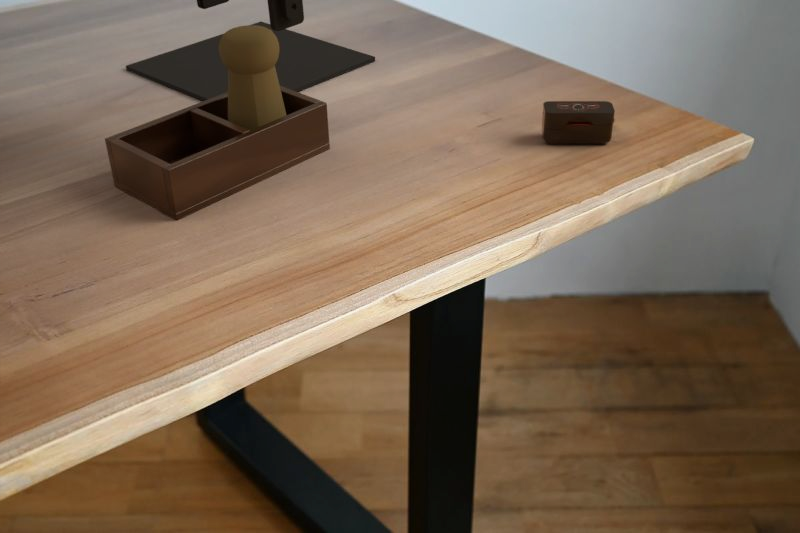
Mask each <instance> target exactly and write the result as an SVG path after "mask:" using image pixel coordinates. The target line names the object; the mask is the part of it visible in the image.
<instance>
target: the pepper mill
mask: <svg viewBox="0 0 800 533" xmlns="http://www.w3.org/2000/svg"><path fill="white" fill-rule="evenodd" d="M222 34H223V36H222V38H221V40H220V43H219V53H220V57H221V59H222V62H223V64H224V65H225V66H226V67H227V68H228V121H229V122H232V123H234V124H236V125H239V126H241V127H244V128H246V129H248V130H250V131H251V130H253V129H255V128H258V127H260V126H262V125H265V124H267V123H270V122H272V121H274V120H277V119H279V118H282V117H284V116H286V111H285V106H284V102H283V98H282V94H281V90H280V85H279V81H278V77H277V73H276V69H275V64H276V62H277V60H278V57H279V42H278V40H277V37H276V36H275V34H274V33H273V32H272V30H270V29H268V28H266V27H262V26H255V25H252V24H248V25H240V26H236V27H233V28H230V29H228V30H227V31H225V32H224V33H222Z"/></svg>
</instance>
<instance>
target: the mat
mask: <svg viewBox="0 0 800 533" xmlns="http://www.w3.org/2000/svg"><path fill="white" fill-rule="evenodd" d="M251 25H255V26H262V27H266V28H268V29H270V30H272V28H271V26H270V23H267V22H264V21H258V22H254V23H252V24H251ZM272 32H273V33H274V34H275V36H276V37H277V40H278V42H279V57H278V60H277V62H276V64H275V69H276V73H277V77H278V81H279V85H280V86H282V87H285V88H287V89H290V90H293V91H296V92H298V93H300V92H301V91H303V90H306V89H309V88H311V87H313V86H317V85H319V84H321V83H324V82H326V81H329V80H331V79H333V78H337V77H339V76H341V75H343V74H346V73H348V72H351V71H353V70H355V69H358V68H361V67H363V66H366V65H368V64H370V63H373V62H376V56H374V55H371V54H367V53H365V52H362V51H357V50H355V49H351V48H348V47H345V46H342V45H339V44H335V43H332V42H329V41H325V40H322V39H319V38H316V37H313V36H309V35H306V34H303V33H300V32H296V31H293V30H290V29H288V28H287V29H284V30H281V31H275V30H272ZM223 34H224V33H221V34H218V35H214V36H213V37H210V38H209V37H208V38H205V39H202V40H200V41H198V42H194V43H190V44H188V45H186V46H181V47H178V48H175V49H174V50H170V51H166V52H164V53H160V54H158V55H154V56H151V57H148V58H145V59H142V60H139V61H136V62H132V63H130V64H126V65H125V69H126V71H129V72H131V73H134V74H136V75H138V76H141V77H143V78H145V79H147V80H151V81H153V82H156V83H158V84H160V85H163V86H165V87H168V88H170V89H172V90H174V91H178V92H180V93H182V94H184V95H187V96H190V97H192V98H195V99H197V100H199V101H201V102H203V101H205V100H208V99H211V98H213V97H216V96H219V95H221V94H224V93H227V92H228V68H227V67H226V66H225V65H224V64H223V62H222V59H221V57H220V53H219V43H220V40H221V38H222V36H223Z"/></svg>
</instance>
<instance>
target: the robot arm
mask: <svg viewBox="0 0 800 533" xmlns="http://www.w3.org/2000/svg"><path fill="white" fill-rule="evenodd" d="M229 1H230V0H196V5H197V7H198V8H199V9H202V10H206V9H209V8H213V7H216V6H219V5H223V4H226V3H228V2H229ZM267 8H268V16H269V24H270V26H271V28H272V30H275V31H281V30H284V29H287V30H288V29H289V28H292V27H295V26H297V25H300V24H302V23H303V22H304V20H305V14H304V13H305V12H304V3H303V0H267Z"/></svg>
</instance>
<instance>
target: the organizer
mask: <svg viewBox="0 0 800 533" xmlns="http://www.w3.org/2000/svg"><path fill="white" fill-rule="evenodd" d="M280 90H281V94H282V98H283V102H284V106H285V111H286V116H284V117H282V118H279V119H277V120H274V121H272V122H270V123H267V124H265V125H262V126H260V127H258V128H255V129H253V130H251V131H250V130H248V129H246V128H244V127H241V126H239V125H236V124H234V123H232V122H229V121H228V92H227V93H224V94H221V95H219V96H216V97H213V98H211V99H208V100H205V101H201V102H198V103H195V104H192V105H190V106H187V107H184V108H182V109H179V110H176V111H174V112H171V113H169V114H166V115H163V116H160V117H158V118H155V119H153V120H150V121H148V122H145V123H142V124H139V125H137V126H134V127H132V128H129V129H127V130H124V131H122V132H121V131H120V132H119V133H116V134H113V135H111V136H108V137H106V138H104V144H105V146H106V151H107V156H108V160H109V166H110V170H111V175H112V179H113V185H114V187H115V188H117V189H119V190H121V191H123V192H124V193H126V194H127V195H130V196H132V197H133V198H136V199H137V200H139V201H141V202H142V203H145V204H146V205H148V206H150V207H152V208H154V209H156V211H157V210H158V211H160V213H163V214H164V215H167V216H169V217H170V218H172V219H174V220H176V221H178V220H181V219H183V218H186V217H187V216H189V215H191V214H193V213H195V212H198V211H200V210H202V209H205V208H206V207H209V206H211V205H213V204H215V203H217V202H220V201H221V200H223V199H226V198H227V197H230V196H232V195H234V194H236V193H238V192H240V191H242V190H245V189H247V188H249V187H251V186H254V185H255V184H257V183H260V182H262V181H264V180H266V179H268V178H271V177H273V176H274V175H276V174H278V173H281V172H283V171H285V170H287V169H290V168H292V167H294V166H296V165H298V164H300V163H303V162H304V161H307V160H309V159H311V158H313V157H314V156H317V155H320V154H321V153H324V152H325V151H328V150H330V149H331V143H330V130H329V117H328V116H329V115H328V103H327V102H325V101H322V100H320V99H318V98H315V97H312V96H309V95H306V94H304V93H301V92H296V91H293V90H290V89H287V88H285V87H282V86H280Z"/></svg>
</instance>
